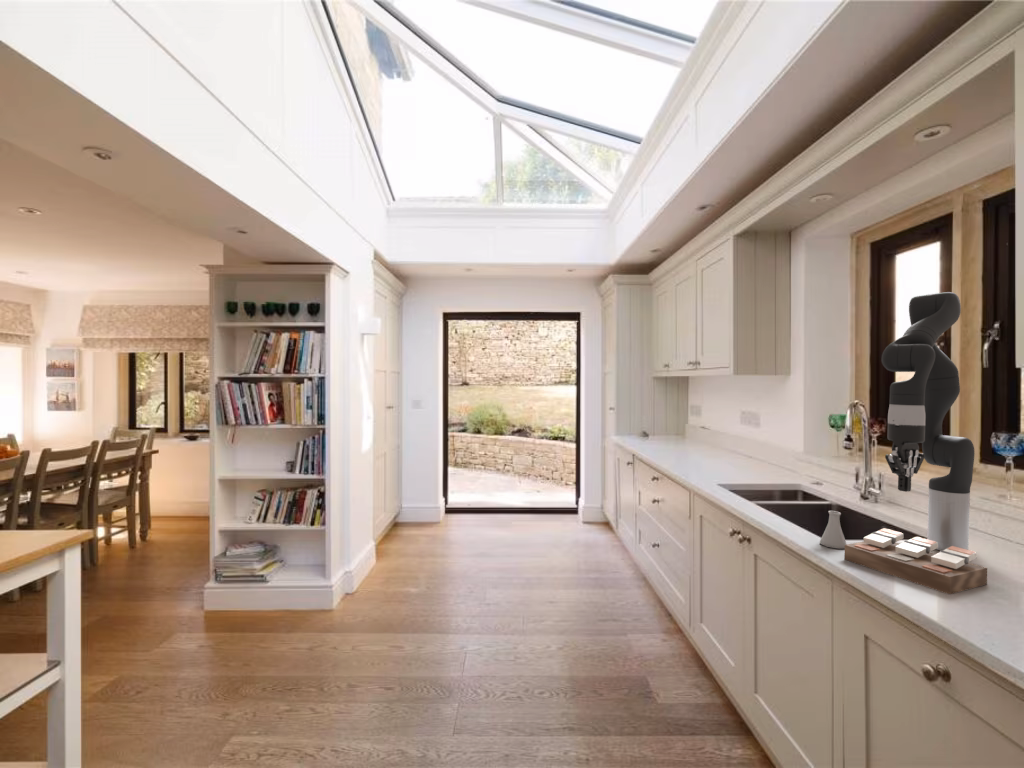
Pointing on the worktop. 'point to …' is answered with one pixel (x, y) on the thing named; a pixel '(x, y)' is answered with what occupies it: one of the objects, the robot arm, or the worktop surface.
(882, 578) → the worktop surface
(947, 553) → the rocker
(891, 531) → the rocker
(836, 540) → the flask
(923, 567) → the switch unit
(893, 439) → the robot arm
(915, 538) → the rocker
